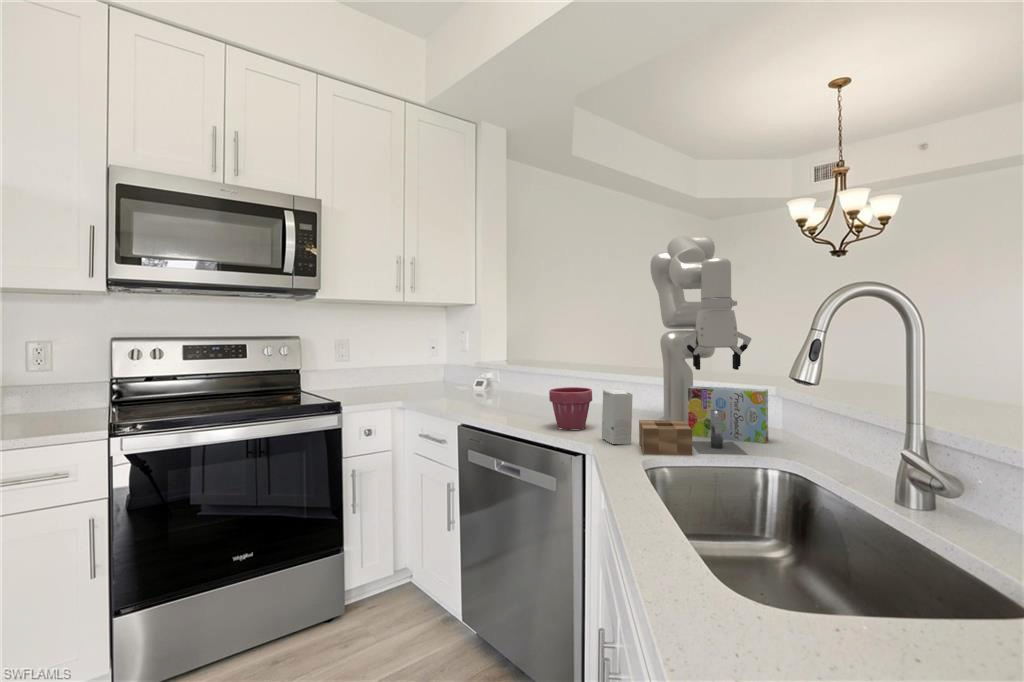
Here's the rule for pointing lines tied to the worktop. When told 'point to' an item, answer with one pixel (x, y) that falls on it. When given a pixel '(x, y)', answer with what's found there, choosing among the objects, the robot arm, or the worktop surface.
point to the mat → (728, 448)
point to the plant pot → (571, 406)
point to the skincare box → (617, 416)
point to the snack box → (730, 412)
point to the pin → (716, 429)
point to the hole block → (665, 437)
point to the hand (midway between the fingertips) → (716, 369)
